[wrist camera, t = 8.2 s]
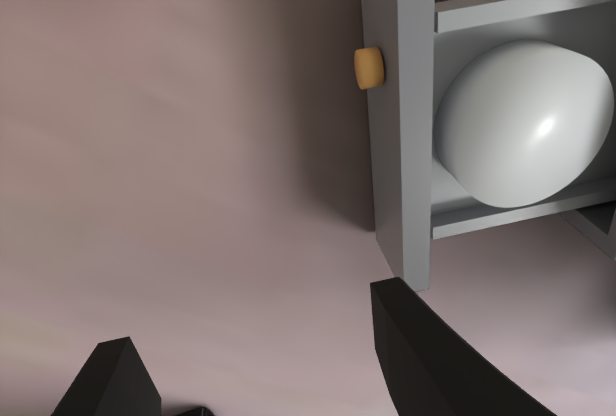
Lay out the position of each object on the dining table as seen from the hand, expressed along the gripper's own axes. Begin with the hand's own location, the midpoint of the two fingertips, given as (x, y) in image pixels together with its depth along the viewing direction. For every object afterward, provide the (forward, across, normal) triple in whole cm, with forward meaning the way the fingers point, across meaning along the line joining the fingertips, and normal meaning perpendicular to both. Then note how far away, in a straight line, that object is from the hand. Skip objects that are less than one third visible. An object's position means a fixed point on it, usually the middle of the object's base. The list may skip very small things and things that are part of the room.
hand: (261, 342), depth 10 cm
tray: (+9, -11, 0) cm, 14 cm away
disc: (+8, -10, 0) cm, 13 cm away
